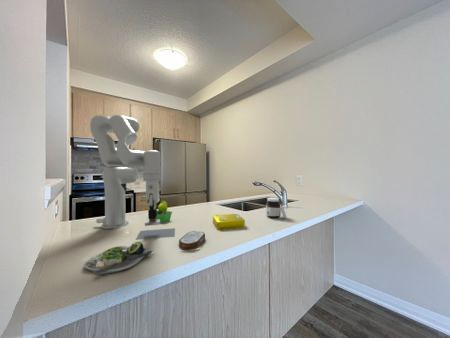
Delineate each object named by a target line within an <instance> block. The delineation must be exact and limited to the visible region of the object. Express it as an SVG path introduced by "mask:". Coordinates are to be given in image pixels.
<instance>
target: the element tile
mask: <svg viewBox="0 0 450 338" xmlns="http://www.w3.org/2000/svg"><path fill="white" fill-rule="evenodd" d="M245 220H246V219H244V218H243V217H241V215H239V214H238V213H229V214H226V213H225V214H213V215H212V224H213V226H214V227H215V228H216V230H218V231H222V230H223V231H224V229H225V230H236V228H238V229H245V228H244V227H246V226H245V225H246V224H245V223H246V221H245Z"/></svg>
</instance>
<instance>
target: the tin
mask: <svg viewBox="0 0 450 338" xmlns="http://www.w3.org/2000/svg"><path fill="white" fill-rule="evenodd" d="M205 241H206V234H205V232H204V231H197V230H196V231H195V230H192V231H189V232H186V233H185V235H183V236H182V237H181V238H179V240H178V247H179V248H181V250H183V251H194V250H196V249H198V248H199V246H201V245H203V243H204V242H205Z"/></svg>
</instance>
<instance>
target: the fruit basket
mask: <svg viewBox="0 0 450 338" xmlns="http://www.w3.org/2000/svg"><path fill="white" fill-rule="evenodd" d="M172 214H173V211H168V203H167V202H166V201H165V200H162V201H161V202H160V203H159V204H158V205H157V217H156V220H157V219H160V223H166V222H169V221H171V217H172Z"/></svg>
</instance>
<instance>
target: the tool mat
mask: <svg viewBox="0 0 450 338" xmlns="http://www.w3.org/2000/svg"><path fill="white" fill-rule="evenodd" d="M175 235H176V228H173V227H172V228H160V229H147V230H140V231H139V233H138V235H137V236H136V237H135V240H137V241H138V240H139V241H140V240H147V239H148V240H150V239H161V238H163V239H164V238H174V237H176V236H175Z"/></svg>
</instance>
